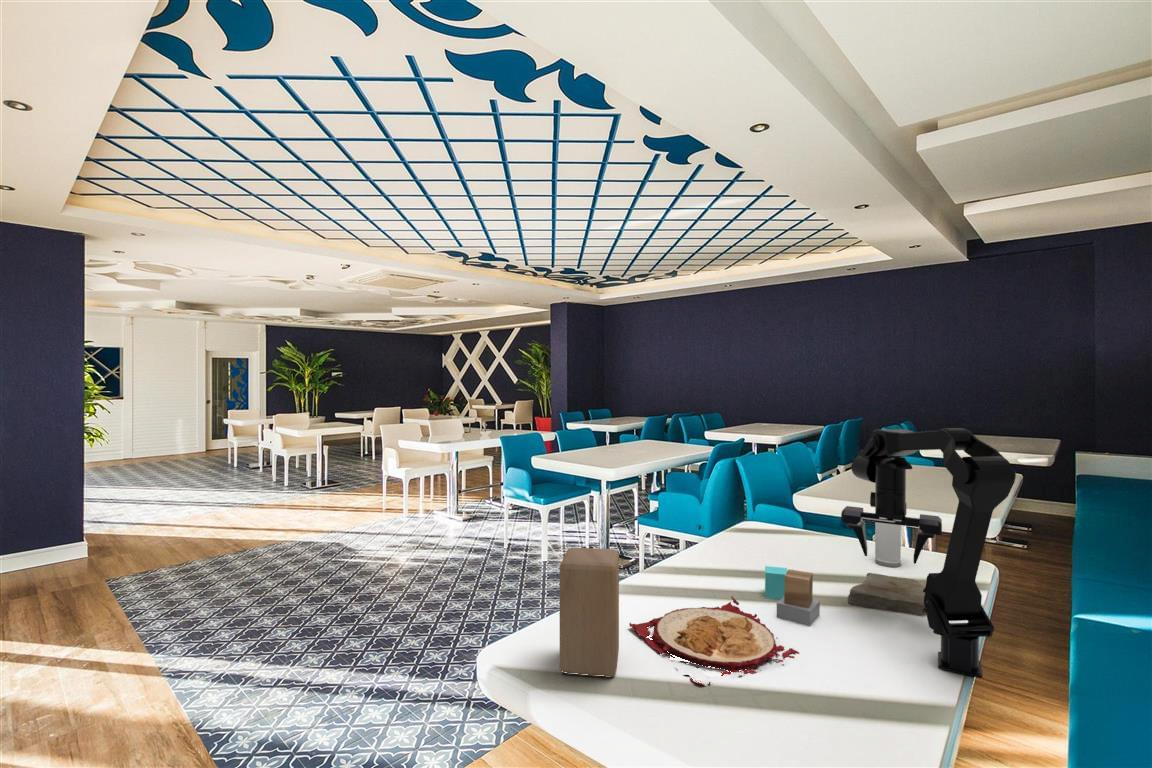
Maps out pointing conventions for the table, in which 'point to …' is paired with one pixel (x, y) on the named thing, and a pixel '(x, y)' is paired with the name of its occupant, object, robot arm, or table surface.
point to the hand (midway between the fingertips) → (889, 559)
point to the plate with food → (714, 638)
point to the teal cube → (774, 582)
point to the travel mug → (887, 544)
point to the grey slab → (798, 612)
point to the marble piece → (889, 594)
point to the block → (589, 611)
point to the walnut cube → (798, 588)
